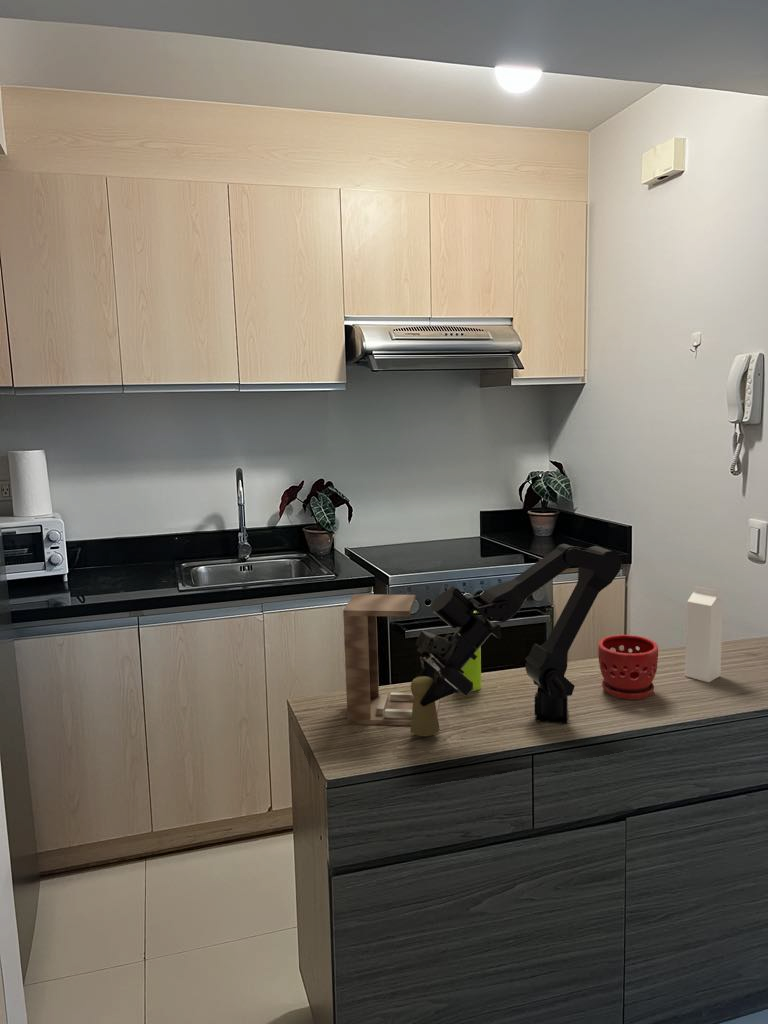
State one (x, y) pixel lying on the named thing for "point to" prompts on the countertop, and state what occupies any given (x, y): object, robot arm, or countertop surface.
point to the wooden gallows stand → (372, 661)
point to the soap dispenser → (474, 669)
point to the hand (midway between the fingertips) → (417, 699)
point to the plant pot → (628, 666)
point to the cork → (423, 709)
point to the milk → (704, 634)
